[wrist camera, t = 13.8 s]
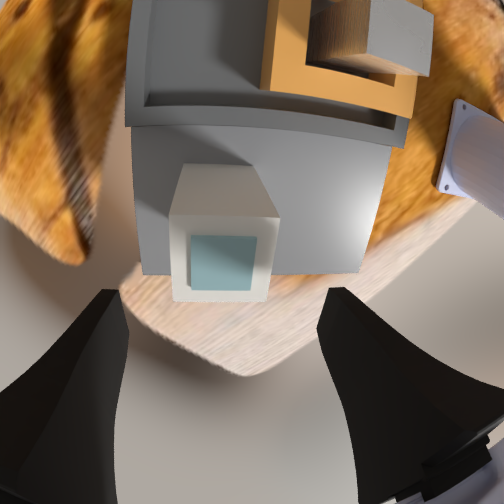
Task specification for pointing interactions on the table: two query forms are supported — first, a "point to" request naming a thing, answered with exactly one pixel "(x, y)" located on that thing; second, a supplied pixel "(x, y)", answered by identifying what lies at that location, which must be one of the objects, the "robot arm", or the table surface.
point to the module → (221, 235)
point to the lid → (267, 189)
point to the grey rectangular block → (372, 37)
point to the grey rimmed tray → (253, 72)
